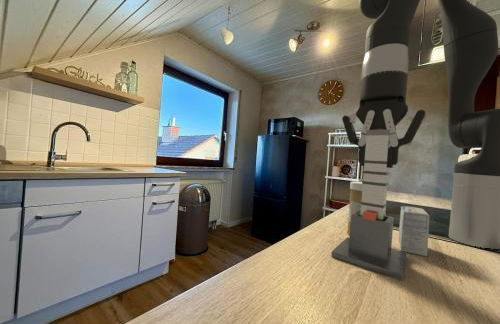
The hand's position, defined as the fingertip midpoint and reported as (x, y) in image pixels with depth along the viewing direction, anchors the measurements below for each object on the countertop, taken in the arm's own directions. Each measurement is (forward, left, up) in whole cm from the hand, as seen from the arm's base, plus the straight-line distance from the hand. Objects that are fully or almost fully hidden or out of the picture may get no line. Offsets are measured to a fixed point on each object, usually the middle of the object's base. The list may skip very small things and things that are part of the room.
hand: (376, 166), depth 41 cm
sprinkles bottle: (-12, -5, -18) cm, 22 cm away
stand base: (0, 0, -18) cm, 18 cm away
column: (0, 0, -10) cm, 10 cm away
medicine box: (-13, +6, -18) cm, 23 cm away
